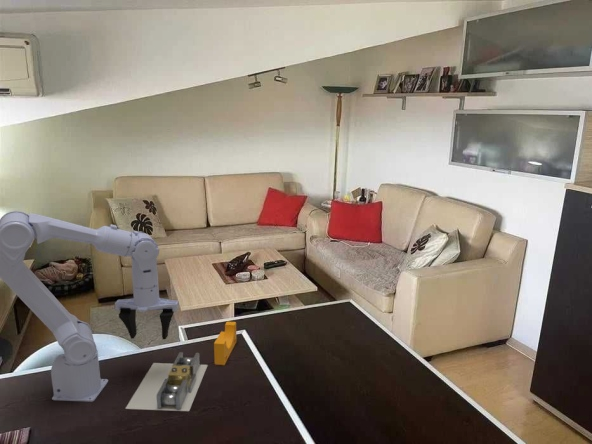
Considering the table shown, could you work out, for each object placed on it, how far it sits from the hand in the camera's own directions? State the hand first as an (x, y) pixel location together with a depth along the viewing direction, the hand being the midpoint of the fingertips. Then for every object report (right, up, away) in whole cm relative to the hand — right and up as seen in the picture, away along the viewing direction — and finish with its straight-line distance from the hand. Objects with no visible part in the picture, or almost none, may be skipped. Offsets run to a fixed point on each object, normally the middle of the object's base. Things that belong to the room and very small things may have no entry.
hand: (149, 336), depth 110 cm
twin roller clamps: (+8, -11, -3) cm, 14 cm away
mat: (+6, -11, -3) cm, 13 cm away
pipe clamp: (+16, -8, +12) cm, 21 cm away
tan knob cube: (+8, -11, -3) cm, 14 cm away
